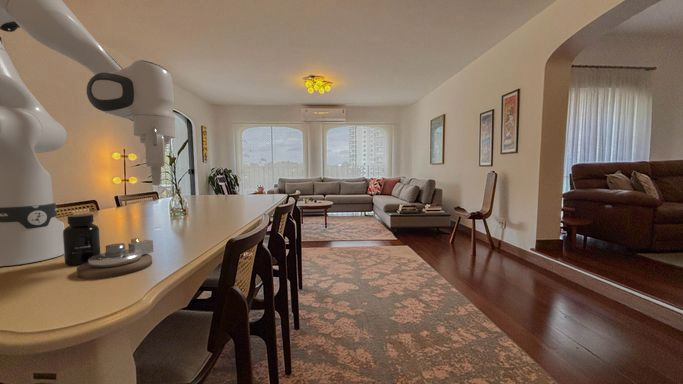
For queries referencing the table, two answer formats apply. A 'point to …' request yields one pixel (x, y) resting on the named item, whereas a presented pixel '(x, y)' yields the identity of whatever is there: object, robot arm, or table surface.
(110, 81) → the robot arm
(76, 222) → the supplement bottle
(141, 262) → the walnut base
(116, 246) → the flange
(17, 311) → the table surface
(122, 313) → the table surface
